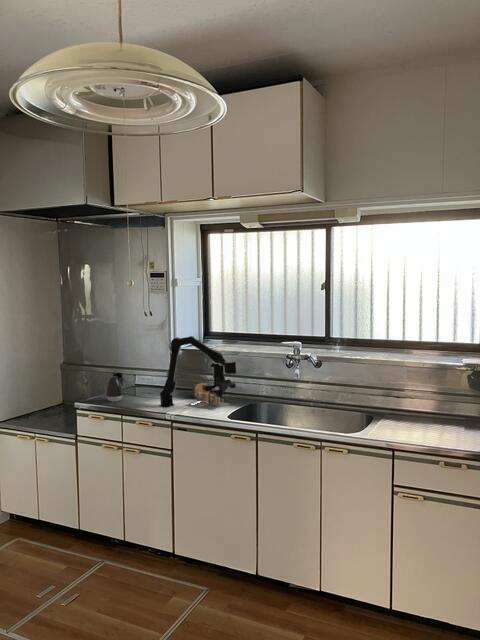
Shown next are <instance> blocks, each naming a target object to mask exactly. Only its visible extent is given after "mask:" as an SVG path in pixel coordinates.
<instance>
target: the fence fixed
mask: <svg viewBox="0 0 480 640" xmlns="http://www.w3.org/2000/svg"><path fill="white" fill-rule="evenodd" d="M211 394H212V393H211V392H210V393H209V394H207V393H200V392H197V398H196V402H197V401H207V402H209V403H211V402H210V395H211Z"/></svg>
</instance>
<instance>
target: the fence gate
mask: <svg viewBox="0 0 480 640" xmlns="http://www.w3.org/2000/svg"><path fill="white" fill-rule="evenodd" d="M210 402H211V403H213V404H215V405H217V406H220V402H221V400H220V397H217V396H216V394H215V395H214V394H212V393H211V395H210Z"/></svg>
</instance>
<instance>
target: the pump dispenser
mask: <svg viewBox="0 0 480 640" xmlns="http://www.w3.org/2000/svg"><path fill="white" fill-rule="evenodd" d="M123 378H124V377H118V376H116V375H112V376H110V378H108V381H107V384H106V388H105V397H106V399H107V400H108V401H109V402H111V403H112V402H113V403H115V402H119V401H121V400H122V398H123V396H124V391H123V386H122V383H121V380H123Z"/></svg>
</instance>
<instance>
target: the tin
mask: <svg viewBox="0 0 480 640" xmlns="http://www.w3.org/2000/svg"><path fill="white" fill-rule="evenodd" d="M206 384H209V383H208V382H201V383H198V384H194V385H193V386H192V387H191V394H192V395H191V396H192V397H193V398H195V399H197V392H200V393H207V394H209V393H211V391H204V390H202V386H203V385H206Z"/></svg>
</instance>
